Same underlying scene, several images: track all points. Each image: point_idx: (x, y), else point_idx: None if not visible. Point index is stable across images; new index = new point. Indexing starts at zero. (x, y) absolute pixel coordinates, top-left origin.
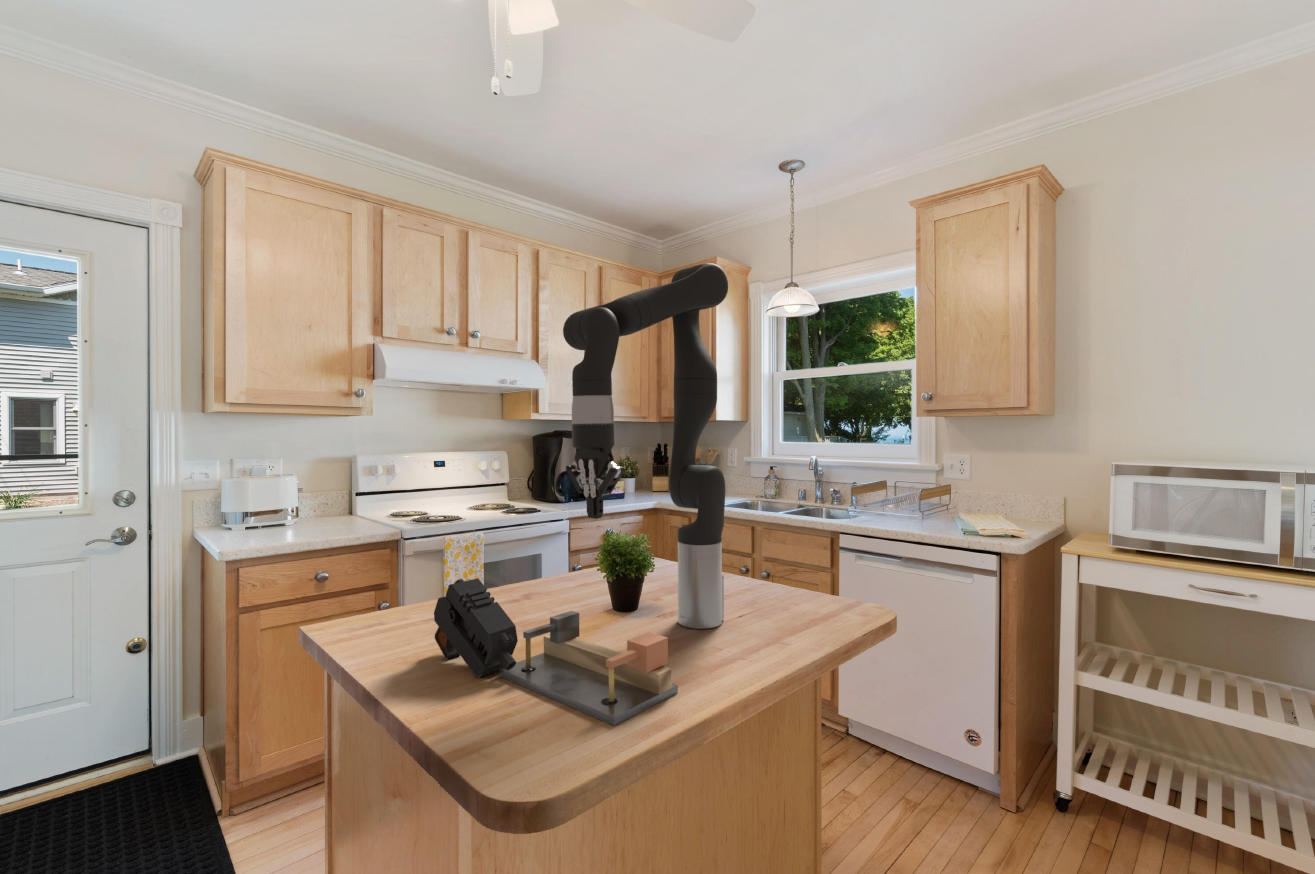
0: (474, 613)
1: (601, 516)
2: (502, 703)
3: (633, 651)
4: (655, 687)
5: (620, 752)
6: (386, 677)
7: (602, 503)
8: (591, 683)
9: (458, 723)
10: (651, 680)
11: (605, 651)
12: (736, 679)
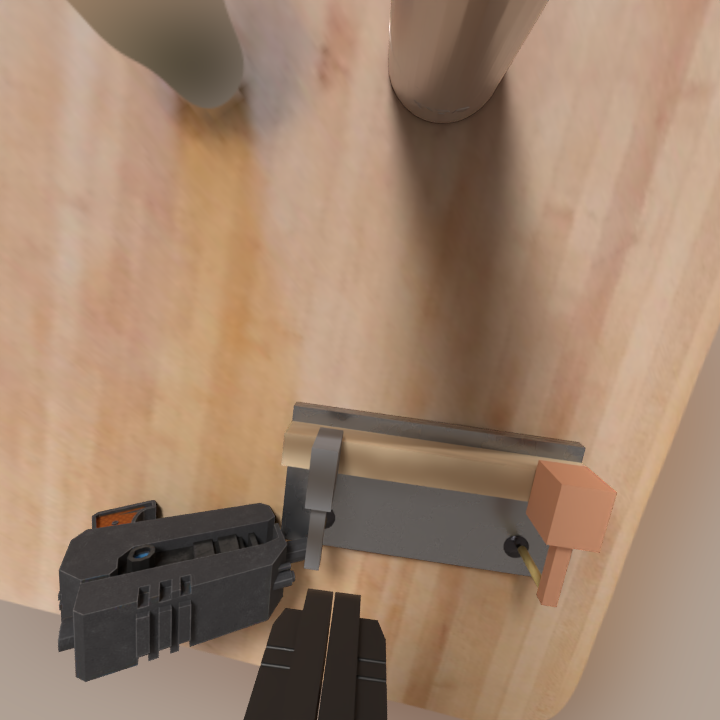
0: (206, 639)
1: (360, 599)
2: (362, 591)
3: (566, 552)
4: None
5: (587, 615)
6: None
7: (386, 717)
8: (452, 510)
9: None
10: None
11: (443, 470)
12: (653, 343)
